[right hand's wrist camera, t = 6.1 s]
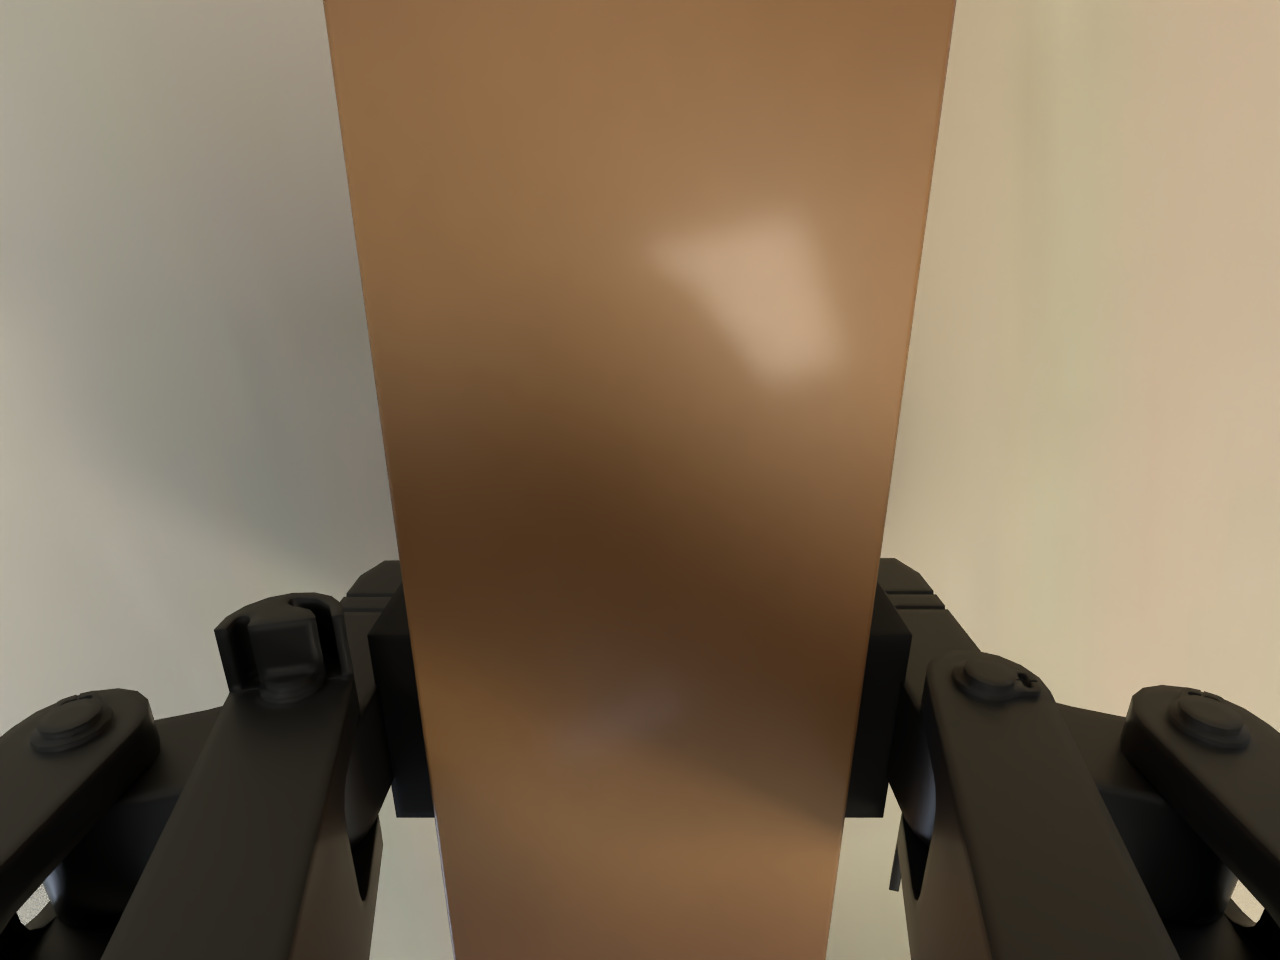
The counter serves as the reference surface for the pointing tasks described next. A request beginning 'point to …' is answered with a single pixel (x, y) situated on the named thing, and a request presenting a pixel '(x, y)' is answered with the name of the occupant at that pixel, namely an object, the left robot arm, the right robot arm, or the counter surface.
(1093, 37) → the counter surface
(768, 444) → the beam
